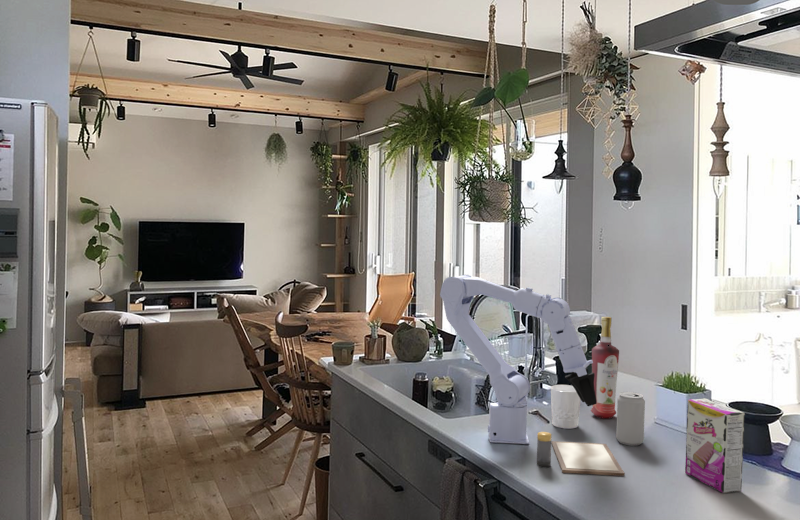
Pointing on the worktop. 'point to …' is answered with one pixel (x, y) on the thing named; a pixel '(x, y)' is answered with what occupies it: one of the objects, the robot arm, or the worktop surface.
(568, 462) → the writing board
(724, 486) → the candy bar box
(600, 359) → the liquor
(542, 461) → the grey yellow rounded cylinder
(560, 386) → the white cup
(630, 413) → the beverage can
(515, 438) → the robot arm
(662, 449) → the worktop surface
